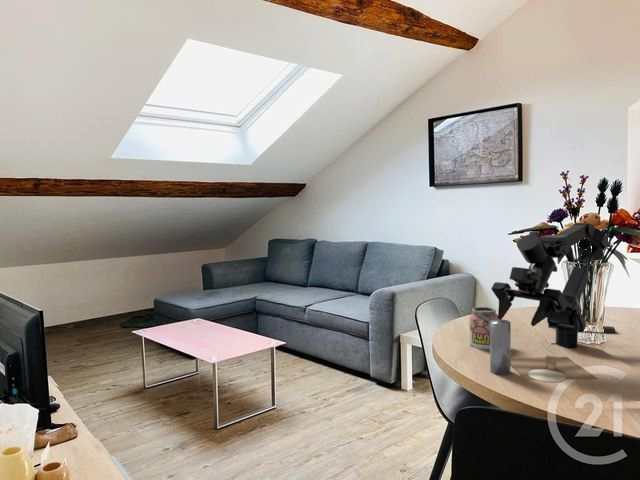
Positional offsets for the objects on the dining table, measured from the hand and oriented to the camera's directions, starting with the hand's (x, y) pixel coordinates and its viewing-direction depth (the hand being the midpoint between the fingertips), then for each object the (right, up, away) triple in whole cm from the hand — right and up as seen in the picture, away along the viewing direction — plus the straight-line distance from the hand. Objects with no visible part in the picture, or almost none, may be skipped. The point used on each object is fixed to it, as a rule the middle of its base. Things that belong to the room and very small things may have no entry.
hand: (515, 321), depth 127 cm
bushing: (-5, -13, -3) cm, 14 cm away
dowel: (+8, -11, -2) cm, 14 cm away
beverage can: (-1, -11, +19) cm, 22 cm away
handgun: (+37, -9, +38) cm, 54 cm away
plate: (+8, -13, -1) cm, 15 cm away
